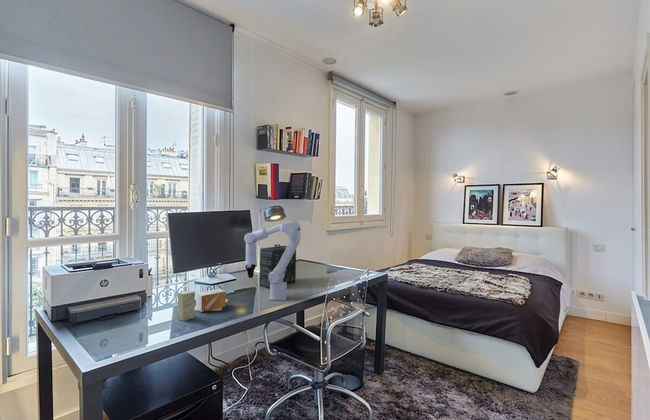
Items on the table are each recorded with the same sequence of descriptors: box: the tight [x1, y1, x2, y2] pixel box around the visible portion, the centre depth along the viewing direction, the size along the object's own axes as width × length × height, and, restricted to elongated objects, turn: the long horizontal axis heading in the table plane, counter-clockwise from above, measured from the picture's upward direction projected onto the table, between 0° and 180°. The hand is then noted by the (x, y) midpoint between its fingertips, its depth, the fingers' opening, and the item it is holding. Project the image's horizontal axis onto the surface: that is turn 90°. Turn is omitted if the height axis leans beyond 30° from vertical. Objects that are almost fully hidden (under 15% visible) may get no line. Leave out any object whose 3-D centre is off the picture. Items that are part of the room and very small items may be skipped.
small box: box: [195, 288, 227, 313], centre depth 165 cm, size 8×6×13 cm
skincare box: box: [177, 290, 196, 322], centre depth 151 cm, size 6×4×12 cm
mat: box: [195, 298, 229, 312], centre depth 170 cm, size 14×17×1 cm
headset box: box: [259, 244, 297, 289], centre depth 213 cm, size 22×12×26 cm, turn 144°
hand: (250, 277), depth 188 cm, fingers closed
